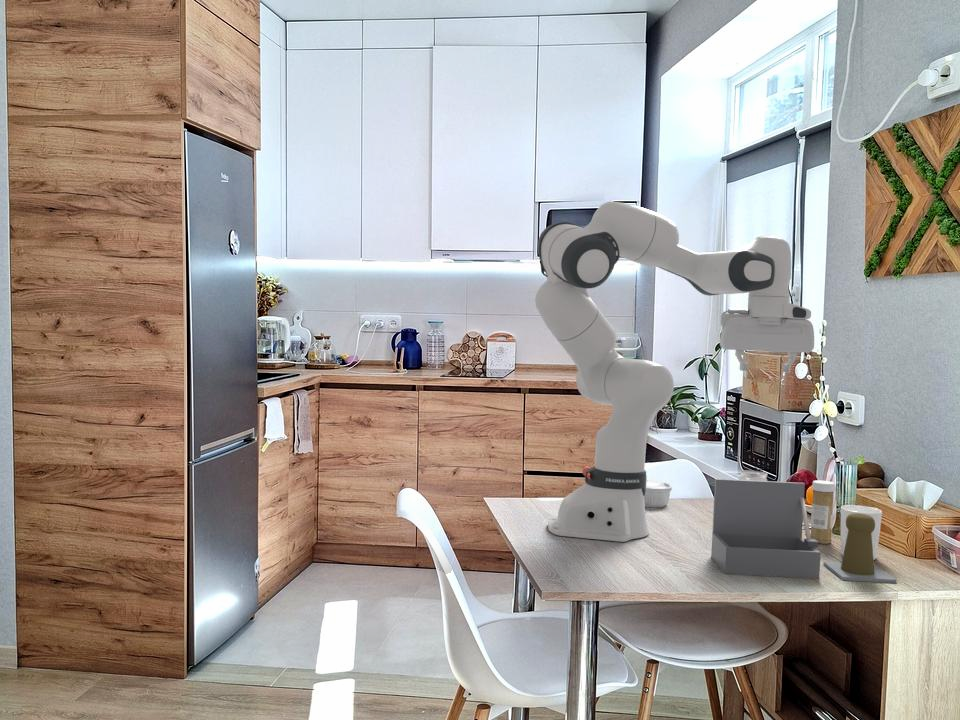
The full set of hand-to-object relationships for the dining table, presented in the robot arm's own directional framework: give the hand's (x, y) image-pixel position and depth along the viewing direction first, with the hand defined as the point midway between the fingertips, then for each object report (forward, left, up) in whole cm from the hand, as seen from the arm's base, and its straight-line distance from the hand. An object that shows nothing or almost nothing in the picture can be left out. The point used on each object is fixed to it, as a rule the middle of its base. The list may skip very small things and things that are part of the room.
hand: (765, 371), depth 191 cm
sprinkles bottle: (+13, -4, -37) cm, 40 cm away
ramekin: (-20, +28, -38) cm, 51 cm away
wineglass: (+2, +12, -37) cm, 39 cm away
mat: (+12, -28, -37) cm, 48 cm away
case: (-6, -27, -37) cm, 46 cm away
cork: (+12, -28, -37) cm, 48 cm away
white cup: (+17, -15, -37) cm, 44 cm away
